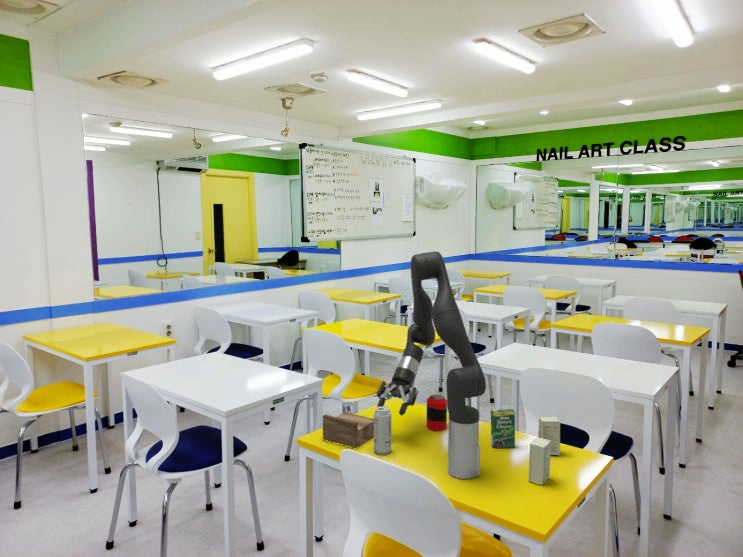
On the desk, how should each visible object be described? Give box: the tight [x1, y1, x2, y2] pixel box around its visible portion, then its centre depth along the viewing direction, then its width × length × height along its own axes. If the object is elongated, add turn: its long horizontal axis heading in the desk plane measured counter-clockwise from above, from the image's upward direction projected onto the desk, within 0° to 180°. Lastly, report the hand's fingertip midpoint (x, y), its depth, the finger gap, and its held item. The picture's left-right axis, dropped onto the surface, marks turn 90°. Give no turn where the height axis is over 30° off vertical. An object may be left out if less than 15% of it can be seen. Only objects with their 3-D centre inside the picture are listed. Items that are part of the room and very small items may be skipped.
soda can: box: [426, 394, 448, 432], centre depth 195 cm, size 8×8×12 cm
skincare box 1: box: [538, 416, 561, 455], centre depth 173 cm, size 6×4×12 cm
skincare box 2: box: [528, 436, 551, 485], centre depth 155 cm, size 6×4×12 cm
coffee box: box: [490, 408, 516, 449], centre depth 178 cm, size 8×3×13 cm, turn 90°
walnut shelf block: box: [322, 411, 374, 449], centre depth 186 cm, size 14×14×9 cm
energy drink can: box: [373, 405, 393, 456], centre depth 174 cm, size 6×6×15 cm
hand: (389, 411), depth 178 cm, fingers open, 8 cm apart
